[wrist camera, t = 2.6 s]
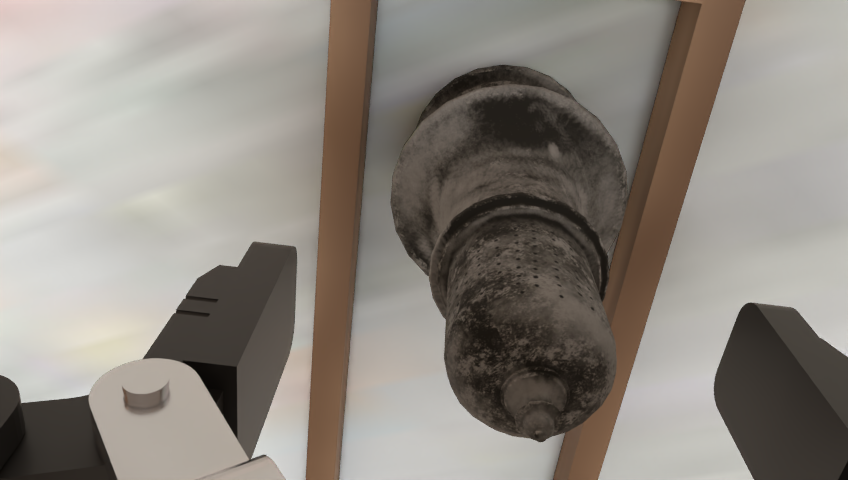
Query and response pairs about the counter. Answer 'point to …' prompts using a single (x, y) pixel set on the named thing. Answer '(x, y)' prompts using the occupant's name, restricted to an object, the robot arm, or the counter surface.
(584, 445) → the track
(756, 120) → the counter surface
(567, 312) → the salt shaker
